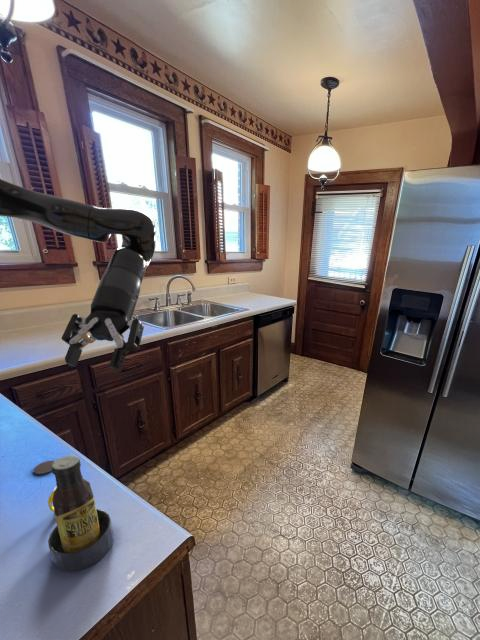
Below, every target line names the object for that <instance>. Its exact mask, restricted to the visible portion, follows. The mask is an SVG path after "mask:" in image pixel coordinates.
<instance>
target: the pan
mask: <svg viewBox="0 0 480 640" xmlns="http://www.w3.org/2000/svg"><path fill="white" fill-rule="evenodd" d="M96 511H97V516H98V522H99V527H100V532H101V536H100V539H99V540H98V541H96V542H95V543H94V544H92V545H91V546H89V547H87V548H85V549H83V550H81V551H77V552H73V553H65V551H64V550H63V547H62V543H61V539H60V535H59V531H58V526H57V525H56V526H54V528H53V530H52V531H51V532H50V534H49V537H48V540H47V543H48V545H47V546H48V550H49V552H50V555H51V559H52V561H53V564H54V565H55V567H56V568H57V569H58V570H60V571H63V572H67V573H73V572H79V571H83V570H85V569H87V568H90V567H92V566H93V565H96V564H97V563H98V562H99V561H101V560H102V559H103V558H104V557H105V556H106V555H107V554H108V553H109V552H110V550H111V548H112V546H113V544H114V540H115V533H114V529H113V525H112V524H113V523H112V519H111V517H110V514H108V513H107V512H106V511H105V510H102V509H100V508H99V509H98V508H96Z"/></svg>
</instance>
